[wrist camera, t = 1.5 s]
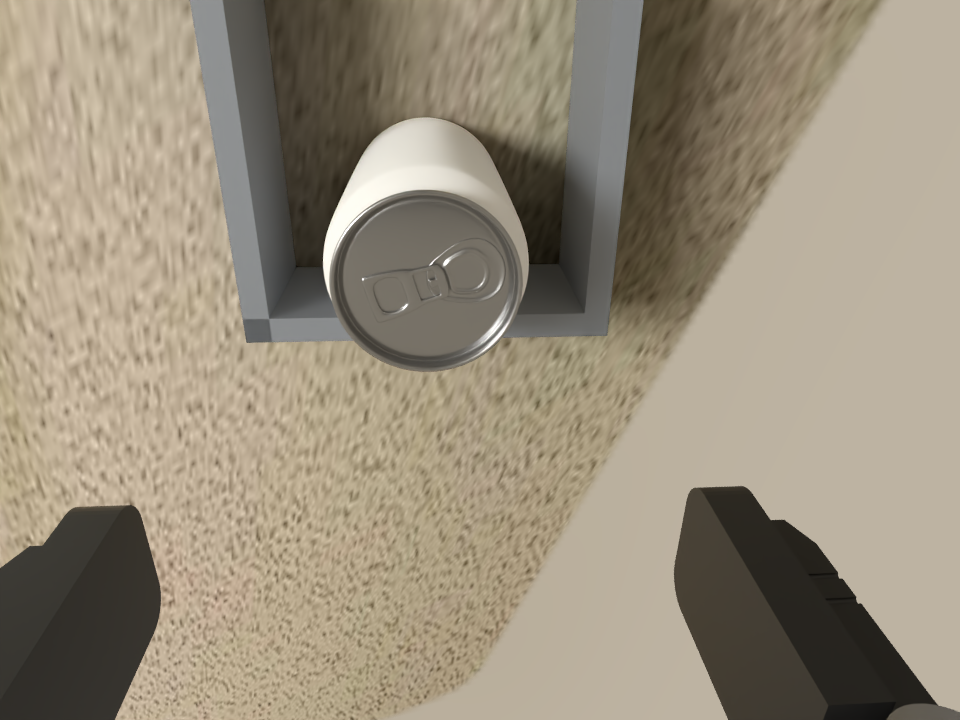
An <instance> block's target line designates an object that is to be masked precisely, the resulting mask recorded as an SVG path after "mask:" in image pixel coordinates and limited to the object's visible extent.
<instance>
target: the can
mask: <svg viewBox="0 0 960 720" xmlns="http://www.w3.org/2000/svg"><path fill="white" fill-rule="evenodd" d="M323 270H324V278H325V283H326V286H327V290H328V293H329V295H330V298H331V300H332V303H333V306H334V309H335V312H336V314H337V317H338V319H339V321H340V322H341V324H342V326H343V327H344V329H345V330H346V332H347V333H348V334H349V336H350V337H351V338H352V339H353V340H354V341H355V342H356V343H357V344H358V345H359V346H360V347H361V348H362V349H363V350H365V351H366V352H367V353H369V354H370V355H372V356H373V357H375V358H377V359H378V360H380V361H382V362H384V363H387V364H389V365H392V366H395V367H398V368H401V369H406V370H411V371H420V372H434V371H443V370H448V369H452V368H456V367H459V366H462V365H465V364H467V363H469V362H471V361H473V360H475V359H477V358H479V357H480V356H482V355H483V354H485V353H486V352H488V351H489V350H490V349H491V348H493V347H494V346H495V345H496V344H497V343H498V342H499V341H500V340H501V338H502V337H503V336H504V335H505V333H506V332H507V331H508V329H509V328H510V326H511V324H512V322H513V320H514V318H515V316H516V314H517V311H518V308H519V305H520V302H521V300H522V297H523V295H524V292H525V288H526V284H527V279H528V271H529V258H528V247H527V242H526V238H525V234H524V231H523V228H522V225H521V222H520V220H519V217H518V215H517V213H516V210H515V208H514V206H513V204H512V201H511V199H510V197H509V195H508V192H507V190H506V188H505V186H504V184H503V182H502V179H501V177H500V175H499V173H498V171H497V169H496V167H495V165H494V163H493V161H492V159H491V157H490V155H489V154H488V152H487V150H486V149H485V147H484V146H483V145H482V144H481V142H480V141H479V140H478V139H477V138H476V137H475V136H473V135H472V134H471V133H470V132H468V131H467V130H466V129H464V128H462V127H460V126H459V125H457V124H454V123H452V122H449V121H446V120H442V119H438V118H428V117H423V118H413V119H408V120H405V121H402V122H399V123H397V124H394V125H392V126H391V127H389V128H387V129H386V130H384V131H383V132H382V133H380V134H379V135H378V136H377V137H376V138H375V139H374V140H373V141H372V142H371V143H370V144H369V146H368V147H367V148H366V150H365V151H364V153H363V155H362V156H361V158H360V160H359V162H358V164H357V166H356V168H355V170H354V172H353V174H352V176H351V178H350V180H349V182H348V185H347V187H346V189H345V191H344V193H343V195H342V197H341V199H340V202H339V204H338V206H337V208H336V210H335V213H334V215H333V217H332V220H331V222H330V225H329V228H328V231H327V235H326V239H325V244H324V253H323Z"/></svg>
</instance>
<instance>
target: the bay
mask: <svg viewBox="0 0 960 720" xmlns="http://www.w3.org/2000/svg"><path fill="white" fill-rule="evenodd" d="M643 1H644V0H577V6H576V21H575V36H574V50H573V65H572V79H571V94H570V109H569V123H568V138H567V152H566V167H565V182H564V196H563V211H562V226H561V240H560V255H559V264H529V271H528V279H527V284H526V288H525V292H524V295H523V297H522V300H521V302H520V305H519V308H518V311H517V314H516V316H515V318H514V320H513V322H512V324H511V326H510V328H509V329H508V331H507V332H506V333H505V335H504V336H503V337H502V338H511V337H562V336H607V332H608V323H609V314H610V305H611V295H612V286H613V277H614V268H615V259H616V249H617V240H618V231H619V222H620V213H621V203H622V194H623V185H624V176H625V167H626V157H627V148H628V139H629V130H630V121H631V111H632V102H633V93H634V84H635V75H636V65H637V56H638V47H639V38H640V29H641V19H642V10H643ZM190 4H191V10H192V16H193V22H194V28H195V34H196V40H197V46H198V52H199V58H200V64H201V70H202V76H203V82H204V89H205V95H206V101H207V107H208V113H209V119H210V125H211V131H212V137H213V143H214V149H215V155H216V161H217V167H218V173H219V179H220V185H221V191H222V197H223V203H224V209H225V215H226V221H227V227H228V234H229V240H230V246H231V252H232V258H233V264H234V270H235V276H236V282H237V288H238V294H239V300H240V306H241V312H242V318H243V324H244V330H245V336H246V342H247V343H254V342H306V341H354V340H353V339H352V338H351V337H350V336H349V334H348V333H347V332H346V330H345V329H344V327H343V326H342V324H341V322H340V321H339V319H338V317H337V314H336V312H335V309H334V306H333V303H332V300H331V298H330V295H329V293H328V290H327V286H326V283H325V278H324V270H323V267H296V261H295V253H294V244H293V236H292V228H291V220H290V211H289V203H288V195H287V186H286V178H285V170H284V162H283V153H282V145H281V137H280V128H279V120H278V112H277V104H276V95H275V87H274V79H273V70H272V62H271V54H270V46H269V37H268V29H267V21H266V13H265V4H264V0H190Z"/></svg>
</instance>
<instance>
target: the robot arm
mask: <svg viewBox="0 0 960 720" xmlns="http://www.w3.org/2000/svg"><path fill="white" fill-rule="evenodd" d="M674 582H675V590H676V595H677V600H678V603H679V606H680V609H681V612H682V614H683V616H684V618H685V621H686V623H687V625H688V628H689V630H690V632H691V634H692V637H693V639H694V641H695V644H696V646H697V649H698V651H699V653H700V655H701V658H702V660H703V662H704V664H705V667H706V669H707V671H708V674H709V676H710V679H711V681H712V683H713V685H714V688H715V690H716V692H717V695H718V697H719V699H720V702H721V704H722V706H723V709H724V711H725V713H726V715H727V718H728V720H960V712H957V711H955V710H952V709H949V708H946V707H942V706H938V705H937V704H936V702H935V701H934V700H933V699H932V697H931V696H930V695H929V693H928V692H927V691H926V689H925V688H924V687H923V685H922V684H921V683H920V681H919V680H918V679H917V677H916V676H915V675H914V673H913V672H912V671H911V669H910V668H909V667H908V665H907V664H906V663H905V661H904V660H903V659H902V657H901V656H900V655H899V653H898V652H897V651H896V649H895V648H894V647H893V645H892V644H891V643H890V641H889V640H888V639H887V637H886V636H885V635H884V633H883V632H882V631H881V629H880V628H879V627H878V625H877V624H876V623H875V621H874V620H873V619H872V617H871V616H870V615H869V613H868V612H867V611H866V609H865V608H864V607H863V605H862V604H858V603H857V601H856V596H855V595H854V594H853V592H852V591H851V589H850V588H849V587H848V585H847V584H846V583H845V581H844V580H843V579H839V577H838V572H837V571H836V569H835V568H834V567H833V565H832V564H831V563H830V561H829V560H828V559H827V557H826V556H825V555H824V554H823V552H822V551H821V549H820V548H819V547H818V545H817V544H816V543H815V542H813V541H812V540H811V539H809V538H808V537H806V536H805V535H804V534H802V533H801V532H800V531H799V530H797V529H796V528H795V527H793V526H792V525H790V524H789V523H788V522H786V521H785V520H770V519H769V517H768V516H767V515H766V513H765V511H764V510H763V509H762V507H761V506H760V504H759V503H758V501H757V500H756V498H755V497H754V496H753V494H752V493H751V492H750V490H748V489H747V488H746V487H743V486H735V487H707V488H693V489H692V490H691V491H690V493H689V495H688V498H687V502H686V507H685V513H684V518H683V523H682V528H681V534H680V539H679V545H678V550H677V555H676V560H675V567H674ZM160 605H161V591H160V584H159V580H158V577H157V573H156V569H155V566H154V562H153V558H152V554H151V551H150V547H149V543H148V540H147V536H146V532H145V529H144V525H143V521H142V518H141V515H140V513H139V511H138V510H137V508H136V507H134V506H132V505H124V506H94V507H75V508H73V509H71V510H70V511H69V512H68V513H67V514H66V515H65V516H64V518H63V519H62V520H61V522H60V523H59V524H58V526H57V527H56V528H55V530H54V531H53V532H52V534H51V535H50V537H49V538H48V539H47V541H46V542H45V543H44V545H43V546H29V547H28V548H27V549H25V550H24V551H23V552H21V553H20V554H19V555H17V556H16V557H15V558H13V559H12V560H11V561H9V562H8V563H7V564H5V565H4V566H3V567H1V568H0V720H115V718H116V715H117V713H118V711H119V709H120V707H121V704H122V702H123V700H124V698H125V696H126V693H127V691H128V689H129V687H130V685H131V682H132V680H133V678H134V676H135V674H136V671H137V669H138V667H139V665H140V663H141V660H142V658H143V656H144V654H145V652H146V649H147V647H148V645H149V643H150V640H151V638H152V636H153V634H154V631H155V629H156V626H157V623H158V618H159V613H160Z"/></svg>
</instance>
